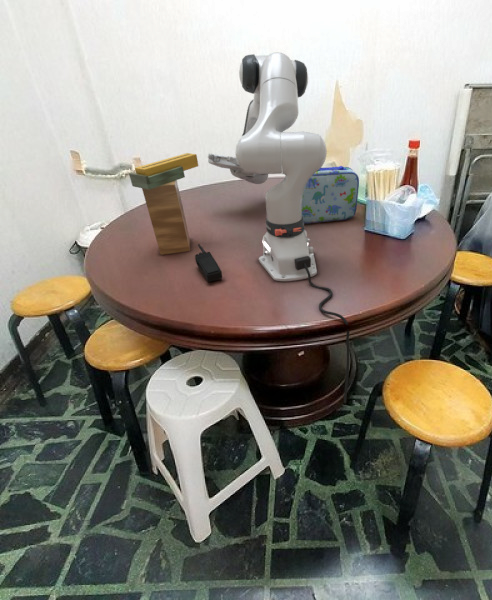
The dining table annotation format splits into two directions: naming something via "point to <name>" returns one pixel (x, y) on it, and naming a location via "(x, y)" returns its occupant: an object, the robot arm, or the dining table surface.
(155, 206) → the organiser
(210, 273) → the walkie-talkie
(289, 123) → the robot arm
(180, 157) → the pencil case
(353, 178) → the lunch box
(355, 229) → the dining table surface
